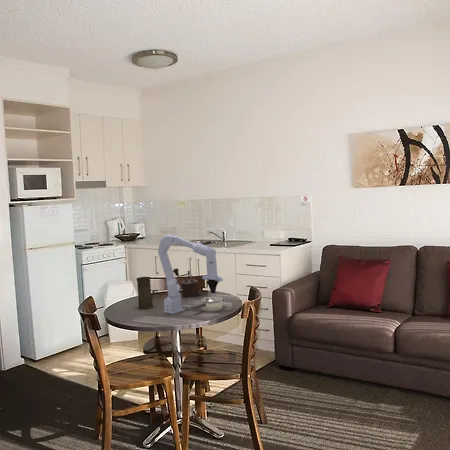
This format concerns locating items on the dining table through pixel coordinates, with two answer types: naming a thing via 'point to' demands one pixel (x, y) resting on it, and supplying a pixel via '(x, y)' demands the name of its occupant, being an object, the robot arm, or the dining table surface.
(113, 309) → the dining table surface
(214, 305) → the pot
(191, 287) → the manual coffee grinder
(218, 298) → the lid
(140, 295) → the container
